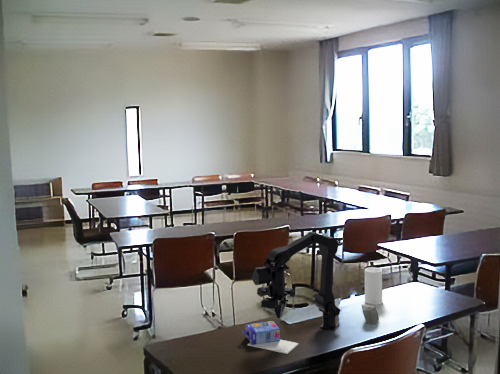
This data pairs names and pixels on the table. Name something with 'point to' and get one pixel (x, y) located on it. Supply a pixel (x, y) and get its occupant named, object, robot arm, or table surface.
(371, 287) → the cup
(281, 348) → the mat
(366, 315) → the mineral specimen
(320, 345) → the table surface
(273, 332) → the ink cartridge box
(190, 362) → the table surface
